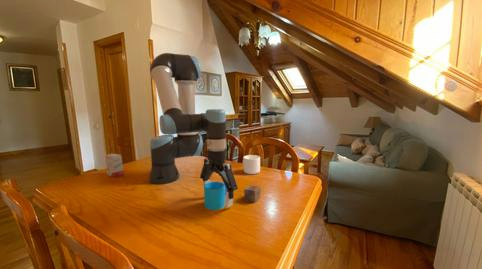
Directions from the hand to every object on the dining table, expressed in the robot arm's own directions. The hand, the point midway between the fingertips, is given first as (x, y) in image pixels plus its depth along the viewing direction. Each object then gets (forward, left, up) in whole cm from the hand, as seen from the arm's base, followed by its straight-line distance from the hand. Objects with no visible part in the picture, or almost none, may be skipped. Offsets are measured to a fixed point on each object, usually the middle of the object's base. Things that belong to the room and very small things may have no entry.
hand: (218, 200), depth 84 cm
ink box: (-69, -18, -1) cm, 71 cm away
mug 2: (-15, +39, -1) cm, 42 cm away
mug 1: (0, 0, -1) cm, 1 cm away
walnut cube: (+8, +12, -1) cm, 14 cm away
